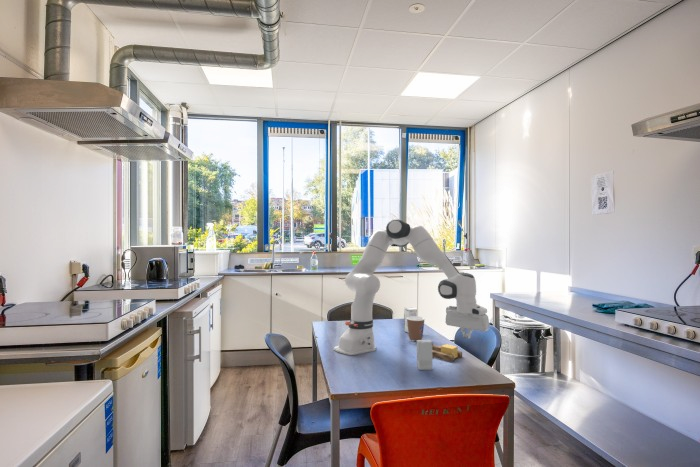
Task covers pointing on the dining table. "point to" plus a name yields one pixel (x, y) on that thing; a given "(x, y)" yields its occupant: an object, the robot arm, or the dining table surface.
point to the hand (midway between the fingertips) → (466, 337)
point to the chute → (443, 354)
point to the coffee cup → (415, 327)
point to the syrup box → (408, 313)
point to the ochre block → (450, 350)
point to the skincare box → (424, 354)
